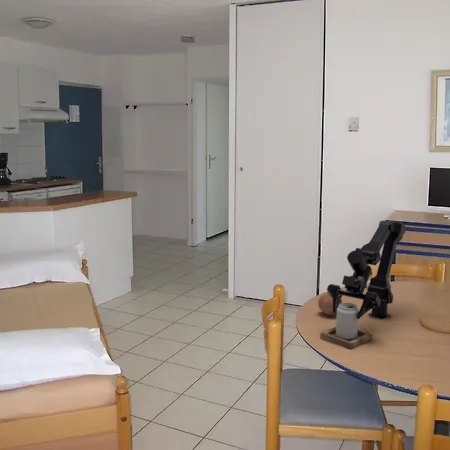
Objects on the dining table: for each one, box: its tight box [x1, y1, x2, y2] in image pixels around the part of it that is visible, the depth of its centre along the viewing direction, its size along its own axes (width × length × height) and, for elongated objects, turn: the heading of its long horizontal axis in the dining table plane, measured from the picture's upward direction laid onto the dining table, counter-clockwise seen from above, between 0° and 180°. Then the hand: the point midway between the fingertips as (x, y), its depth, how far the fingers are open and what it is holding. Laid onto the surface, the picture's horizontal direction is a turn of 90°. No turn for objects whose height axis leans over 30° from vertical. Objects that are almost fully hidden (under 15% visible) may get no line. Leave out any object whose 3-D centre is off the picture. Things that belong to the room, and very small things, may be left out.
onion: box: [317, 291, 343, 316], centre depth 217 cm, size 10×9×10 cm
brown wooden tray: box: [319, 326, 373, 350], centre depth 194 cm, size 13×13×2 cm
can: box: [335, 302, 360, 340], centre depth 193 cm, size 8×8×12 cm
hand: (345, 315), depth 191 cm, fingers open, 9 cm apart
